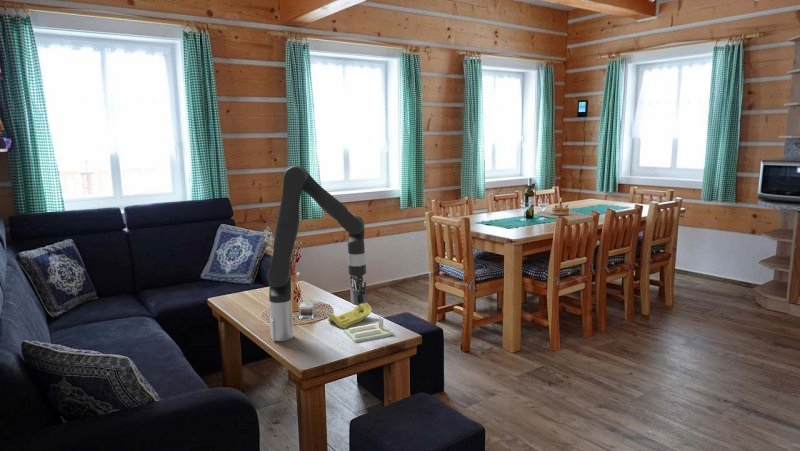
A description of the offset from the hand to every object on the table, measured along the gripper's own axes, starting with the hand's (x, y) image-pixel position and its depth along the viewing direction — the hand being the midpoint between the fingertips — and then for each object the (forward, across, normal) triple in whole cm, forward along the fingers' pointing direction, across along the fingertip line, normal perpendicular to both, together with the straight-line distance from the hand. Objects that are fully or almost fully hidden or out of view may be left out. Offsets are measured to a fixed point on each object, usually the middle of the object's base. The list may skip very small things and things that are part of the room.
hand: (358, 301), depth 234 cm
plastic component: (+16, -20, +3) cm, 25 cm away
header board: (+16, -1, +4) cm, 16 cm away
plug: (0, 0, 0) cm, 0 cm away
